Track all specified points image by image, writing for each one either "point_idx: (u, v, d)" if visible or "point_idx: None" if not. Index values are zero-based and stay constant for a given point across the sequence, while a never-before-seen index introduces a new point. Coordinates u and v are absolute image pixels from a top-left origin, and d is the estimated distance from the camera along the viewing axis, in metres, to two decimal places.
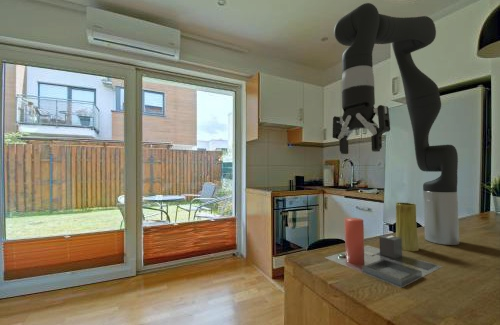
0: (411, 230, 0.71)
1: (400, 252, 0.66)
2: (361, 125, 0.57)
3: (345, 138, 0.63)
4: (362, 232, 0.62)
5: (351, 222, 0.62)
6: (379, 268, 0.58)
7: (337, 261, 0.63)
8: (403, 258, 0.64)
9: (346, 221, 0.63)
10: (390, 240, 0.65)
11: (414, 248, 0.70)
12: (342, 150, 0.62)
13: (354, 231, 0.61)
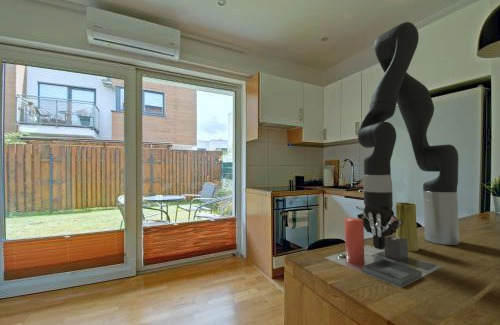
0: (411, 230, 0.71)
1: (406, 254, 0.64)
2: (375, 221, 0.70)
3: None
4: (362, 232, 0.62)
5: (351, 222, 0.62)
6: (379, 268, 0.58)
7: (337, 261, 0.63)
8: None
9: (346, 221, 0.63)
10: (396, 241, 0.64)
11: (414, 248, 0.70)
12: (376, 246, 0.69)
13: (354, 231, 0.61)
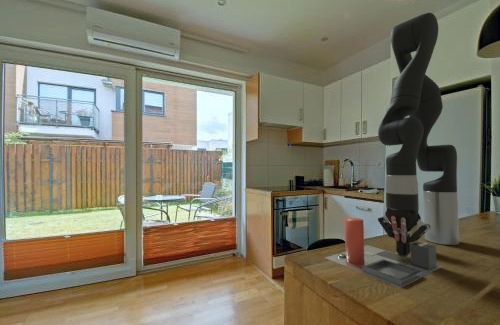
0: None
1: (434, 261, 0.59)
2: (399, 225, 0.64)
3: None
4: (362, 232, 0.62)
5: (351, 222, 0.62)
6: (379, 268, 0.58)
7: (337, 261, 0.63)
8: (403, 258, 0.64)
9: (346, 221, 0.63)
10: (424, 248, 0.58)
11: None
12: (400, 252, 0.64)
13: (354, 230, 0.61)
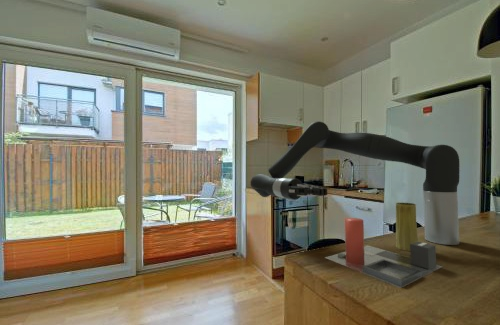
0: (411, 230, 0.71)
1: (434, 261, 0.59)
2: None
3: None
4: (362, 232, 0.62)
5: (351, 222, 0.62)
6: (379, 268, 0.58)
7: (337, 261, 0.63)
8: (403, 258, 0.64)
9: (346, 221, 0.63)
10: (423, 248, 0.58)
11: None
12: (324, 195, 0.73)
13: (354, 231, 0.61)
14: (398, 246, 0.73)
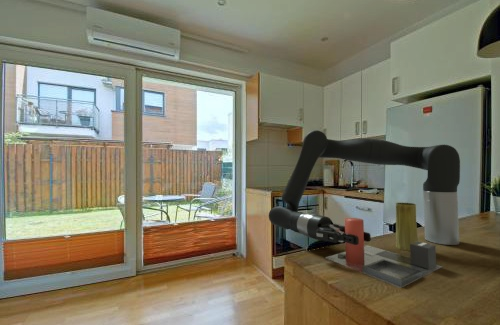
0: (411, 230, 0.71)
1: (434, 261, 0.59)
2: None
3: None
4: (362, 232, 0.62)
5: (351, 222, 0.62)
6: (379, 268, 0.58)
7: (337, 261, 0.63)
8: (403, 258, 0.64)
9: (346, 221, 0.63)
10: (423, 248, 0.58)
11: None
12: (366, 240, 0.63)
13: (354, 230, 0.61)
14: (398, 246, 0.73)
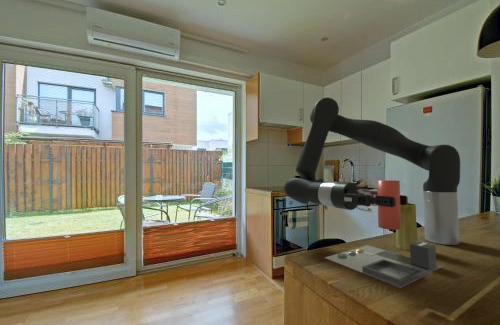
0: (411, 230, 0.71)
1: (434, 261, 0.59)
2: None
3: None
4: (399, 194, 0.54)
5: (386, 182, 0.54)
6: (379, 268, 0.58)
7: (337, 261, 0.63)
8: (403, 258, 0.64)
9: (379, 182, 0.55)
10: (423, 248, 0.58)
11: None
12: (402, 204, 0.55)
13: (389, 192, 0.54)
14: (398, 246, 0.73)
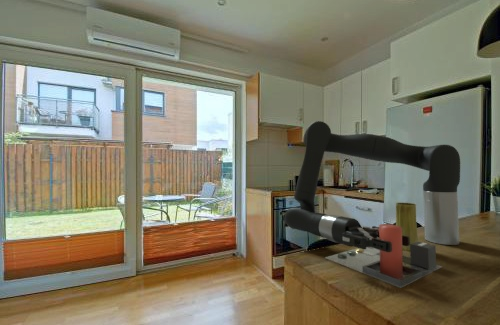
0: (411, 230, 0.71)
1: (434, 261, 0.59)
2: None
3: None
4: (401, 241, 0.53)
5: (388, 230, 0.54)
6: (379, 268, 0.58)
7: (337, 261, 0.63)
8: (403, 258, 0.64)
9: (382, 228, 0.55)
10: (423, 248, 0.58)
11: None
12: None
13: (391, 240, 0.53)
14: None
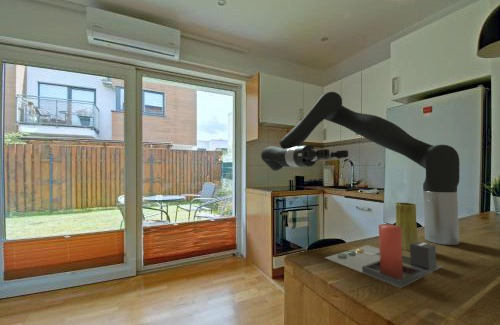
0: (411, 230, 0.71)
1: (434, 261, 0.59)
2: (318, 157, 0.75)
3: (335, 153, 0.76)
4: (400, 241, 0.54)
5: (388, 230, 0.54)
6: (379, 268, 0.58)
7: (337, 261, 0.63)
8: (403, 258, 0.64)
9: (381, 228, 0.55)
10: (423, 248, 0.58)
11: None
12: (344, 157, 0.73)
13: (391, 239, 0.53)
14: None
